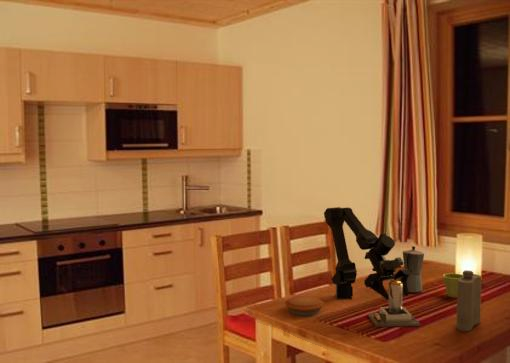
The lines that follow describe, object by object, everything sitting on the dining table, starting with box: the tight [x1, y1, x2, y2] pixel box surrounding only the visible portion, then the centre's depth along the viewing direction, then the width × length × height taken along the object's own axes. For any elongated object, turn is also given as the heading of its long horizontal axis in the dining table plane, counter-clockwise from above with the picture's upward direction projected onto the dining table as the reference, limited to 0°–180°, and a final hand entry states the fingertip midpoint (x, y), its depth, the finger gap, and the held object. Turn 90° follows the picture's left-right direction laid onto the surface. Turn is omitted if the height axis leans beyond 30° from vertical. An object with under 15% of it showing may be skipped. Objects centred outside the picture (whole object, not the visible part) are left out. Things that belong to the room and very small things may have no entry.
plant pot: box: [442, 273, 463, 298], centre depth 235 cm, size 9×9×9 cm
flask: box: [456, 270, 482, 333], centre depth 198 cm, size 15×6×20 cm, turn 141°
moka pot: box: [402, 245, 425, 293], centre depth 242 cm, size 10×15×20 cm, turn 152°
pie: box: [284, 295, 325, 317], centre depth 216 cm, size 16×16×5 cm
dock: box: [368, 306, 421, 328], centre depth 204 cm, size 16×12×4 cm
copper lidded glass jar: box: [387, 279, 404, 314], centre depth 204 cm, size 5×5×14 cm
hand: (398, 297), depth 203 cm, fingers open, 9 cm apart
